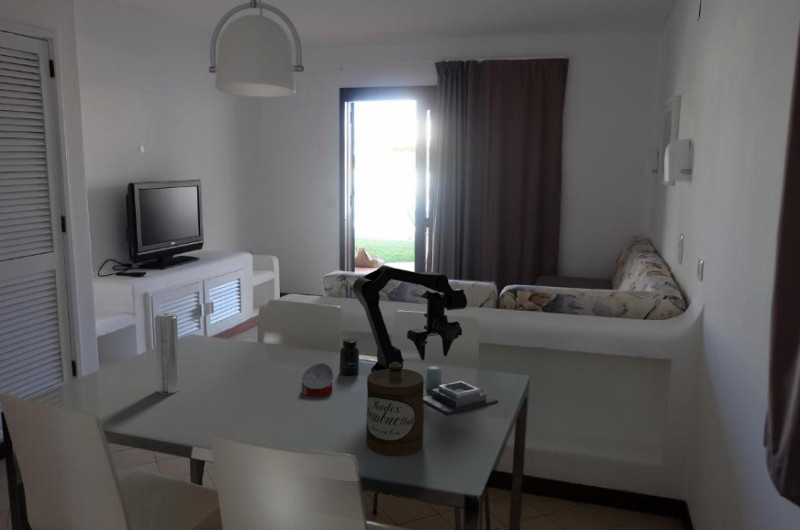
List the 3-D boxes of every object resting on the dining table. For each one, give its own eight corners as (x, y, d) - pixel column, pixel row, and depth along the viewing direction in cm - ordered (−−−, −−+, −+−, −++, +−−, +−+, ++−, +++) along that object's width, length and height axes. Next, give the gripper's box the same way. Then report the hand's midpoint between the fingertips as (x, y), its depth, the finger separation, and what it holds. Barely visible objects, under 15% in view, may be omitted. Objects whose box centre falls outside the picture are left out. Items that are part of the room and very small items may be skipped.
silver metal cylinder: (183, 389, 196) (181, 313, 192) (168, 395, 190) (165, 317, 187) (168, 385, 199) (165, 310, 195) (152, 392, 193) (149, 314, 189)
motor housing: (447, 414, 179) (448, 400, 179) (419, 400, 191) (419, 386, 190) (497, 402, 191) (498, 388, 190) (468, 388, 202) (469, 375, 201)
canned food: (333, 404, 198) (345, 381, 195) (308, 409, 191) (320, 385, 187) (314, 381, 205) (326, 358, 201) (290, 385, 197) (301, 361, 194)
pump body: (431, 392, 198) (432, 371, 197) (422, 387, 202) (423, 367, 201) (444, 389, 201) (444, 369, 200) (434, 385, 205) (435, 365, 204)
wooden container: (356, 450, 155) (357, 366, 152) (379, 428, 169) (380, 351, 166) (411, 460, 150) (413, 374, 147) (430, 437, 164) (432, 358, 161)
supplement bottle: (349, 377, 211) (350, 344, 209) (335, 373, 215) (335, 340, 213) (362, 372, 216) (363, 340, 214) (348, 368, 220) (348, 336, 218)
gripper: (427, 319, 186) (425, 369, 188) (474, 313, 196) (471, 360, 198) (406, 312, 195) (405, 359, 197) (452, 306, 205) (450, 351, 208)
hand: (434, 358), depth 200 cm, fingers open, 9 cm apart
